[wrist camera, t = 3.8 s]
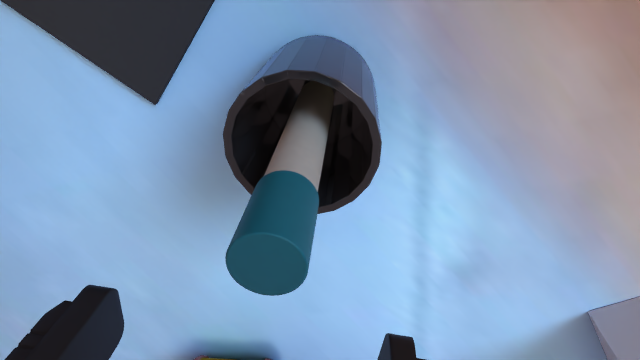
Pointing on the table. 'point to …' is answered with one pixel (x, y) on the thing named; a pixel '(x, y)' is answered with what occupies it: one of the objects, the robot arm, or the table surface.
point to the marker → (285, 202)
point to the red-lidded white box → (619, 329)
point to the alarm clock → (206, 359)
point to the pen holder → (277, 104)
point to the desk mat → (123, 35)
